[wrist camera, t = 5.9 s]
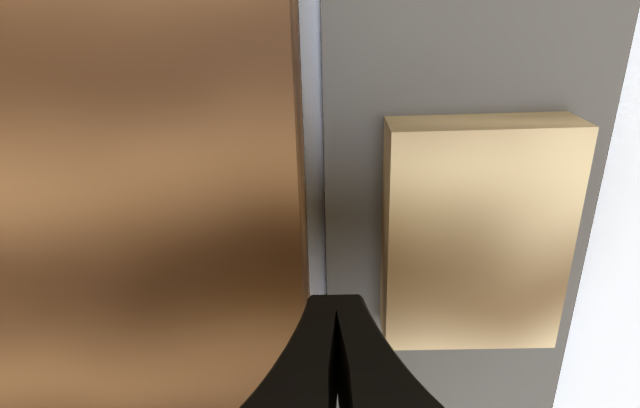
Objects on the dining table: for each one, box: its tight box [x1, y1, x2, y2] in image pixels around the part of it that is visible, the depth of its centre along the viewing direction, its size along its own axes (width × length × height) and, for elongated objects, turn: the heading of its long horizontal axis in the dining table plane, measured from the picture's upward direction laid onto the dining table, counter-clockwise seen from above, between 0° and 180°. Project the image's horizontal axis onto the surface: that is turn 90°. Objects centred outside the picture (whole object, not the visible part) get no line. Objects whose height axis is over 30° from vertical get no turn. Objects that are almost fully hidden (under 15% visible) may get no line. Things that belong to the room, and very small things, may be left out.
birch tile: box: [380, 111, 599, 350], centre depth 17 cm, size 8×6×2 cm
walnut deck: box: [0, 0, 310, 408], centre depth 17 cm, size 18×12×4 cm, turn 1°
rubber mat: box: [321, 0, 640, 408], centre depth 18 cm, size 18×10×1 cm, turn 1°
